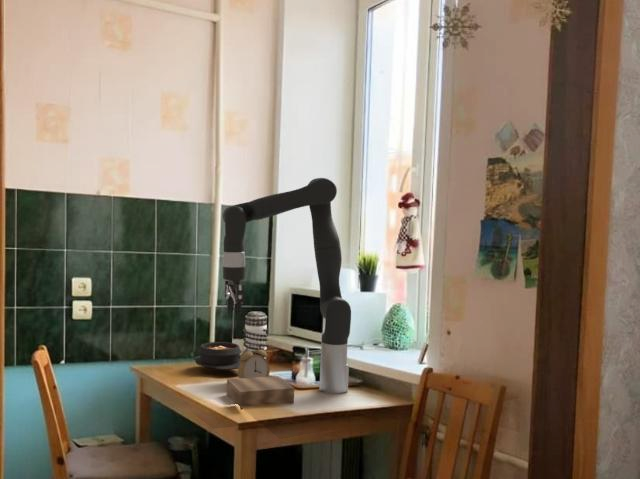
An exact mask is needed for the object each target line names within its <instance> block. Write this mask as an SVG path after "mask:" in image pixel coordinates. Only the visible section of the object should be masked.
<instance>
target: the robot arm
mask: <svg viewBox="0 0 640 479" xmlns="http://www.w3.org/2000/svg"><path fill="white" fill-rule="evenodd" d="M337 193H338V189H337V185H336V184H335V182H334V181H333V180H331V179H330V178H328V177H327V178H326V177H317V178H314V179H312V180H311V181H309V183H308V184H307V185H305V186H303V187H299V188H297V189H293V190H289V191H285V192H279V193H275V194H270V195H266V196H262V197H259V198H256V199H253V200H250V201H246V202H243V203H238V204H233V205H230V206H227V207H226V208H225V209H224V211H223V212H222V220H223V222H224V226H225V227H224V230H225V231H224V232H225V234H224V238H223V255H222V279H223V280H224V298H225V299H226V311H227V312H233V313H234V315H235V316H241V315H242V304H243V303H245V285H244V284H241V281H242V280H245V279H246V255H245V254H246V253H245V245H246V244H245V242H246V241H245V233H246V225H247V224H246V223H249V222H252V221H260V220H264V219H267V218H270V217H271V218H272V217H273V216H277V215H280V214H284V213H286V212H290V211H292V210H296V209H299V208H304V207H309V211H310V215H311V221H312V222H311V224H312V225H311V226H312V237H313V249H314V256H315V257H314V258H315V264H316V271H317V276H318V283H319V307H320V308H319V309H320V313H321V317H323V318H324V320H325V323H324V332H323V333H322V334H321V343H320V344H321V346H320V347H321V350H320V369H319V391H320V392H321V393H324V394H333V395H337V394H338V395H339V394H343V393H348V392H349V371H350V370H349V369H350V366H349V364H348V362H347V361H348V340H349V338H350V334H351V324H352V308H351V305H350V304H349V302H348V301H347V300H345V299H344V298H343V297H342V292H341V286H340V275H341V274H340V273H341V268H342V261H343V260H342V248H341V241H340V236H339V233H338V231H337V228H336V225H335V222H334V219H333V214H332V204H331V203H332V202H333V201H334V200H335V198H336V196H337Z"/></svg>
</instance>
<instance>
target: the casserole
mask: <svg viewBox="0 0 640 479" xmlns="http://www.w3.org/2000/svg"><path fill="white" fill-rule="evenodd" d="M197 352H198V354H199V355H198V356H194V357H193V360H194V361H195V364H196V365H198V366H201V367H204V368H205V369H209V370H217V371H219V370H223V371H228V370H238V366H239V364H240V362H241V359H240V355H241V354H242V353H243V351H242V349H241V348H240V345H239V344H237V343H234V342H233V343H232V342H226V341H214V342H213V341H210V342H205V343H202V344H201V345H200V347H199V349H198V350H197Z"/></svg>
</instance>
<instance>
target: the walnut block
mask: <svg viewBox="0 0 640 479" xmlns="http://www.w3.org/2000/svg"><path fill="white" fill-rule="evenodd" d="M226 396H227V397H228V398H229V399H230V400H232V401H233V402H234V404H235V403H237V404H238V405H239V406H240V407H252V406H254V405H255V406H256V407H257V406H269V405H270V404H273V405H286V403H290V404H294V403H295V387H294V386H292V385H291V384H290V383H288V382H287V381H286V380H284V379H283V378H282V377H280V376H278V375H272V376H270V375H269V376H268V377H253V378H239V377H238V378H227V380H226ZM284 403H285V404H284ZM270 406H271V405H270Z"/></svg>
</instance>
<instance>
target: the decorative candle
mask: <svg viewBox="0 0 640 479" xmlns="http://www.w3.org/2000/svg"><path fill="white" fill-rule="evenodd" d="M267 318H268V316H267V315H266V313H265V312H263V311H250V312H248V313H247V315H245V325H244V328H243V330H242V332H243V333H242V336H243V349H244V351H245V350H246V348H247V347H248V346H249V345H251V344H257V345H259V346H260V347H261V348H262V349H264V351H265V352H266V350H267V347H268V344H267V343H266V342H267V341H268V340H269V339H268V338H267V337H268V336H269V334H268V333H267V332H269V328H267V327H268V326H267ZM257 345H252V346H250V347H249V348H248V350H247V351H251V352H252V353H253V352H255V351H256V350H258V349H260V348H259V347H258V346H257ZM254 354H255V353H254ZM256 355H257V354H256ZM264 358H265V359H266V360H267V358H266V357H264Z"/></svg>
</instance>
